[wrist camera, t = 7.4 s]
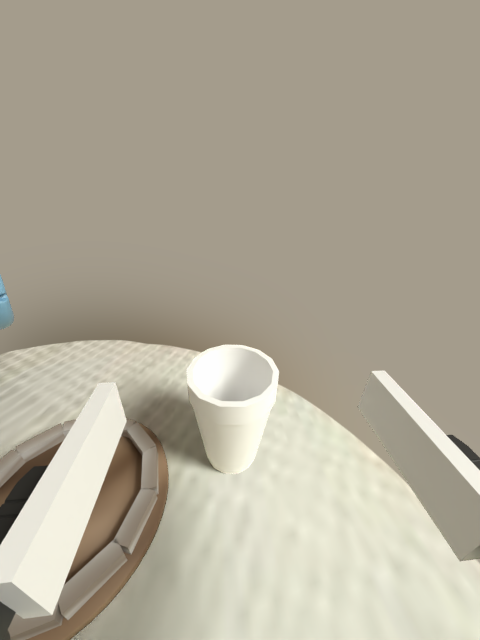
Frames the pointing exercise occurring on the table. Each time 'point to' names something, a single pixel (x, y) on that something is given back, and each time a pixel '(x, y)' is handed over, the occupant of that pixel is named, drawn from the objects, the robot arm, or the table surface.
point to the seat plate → (97, 525)
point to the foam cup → (232, 402)
